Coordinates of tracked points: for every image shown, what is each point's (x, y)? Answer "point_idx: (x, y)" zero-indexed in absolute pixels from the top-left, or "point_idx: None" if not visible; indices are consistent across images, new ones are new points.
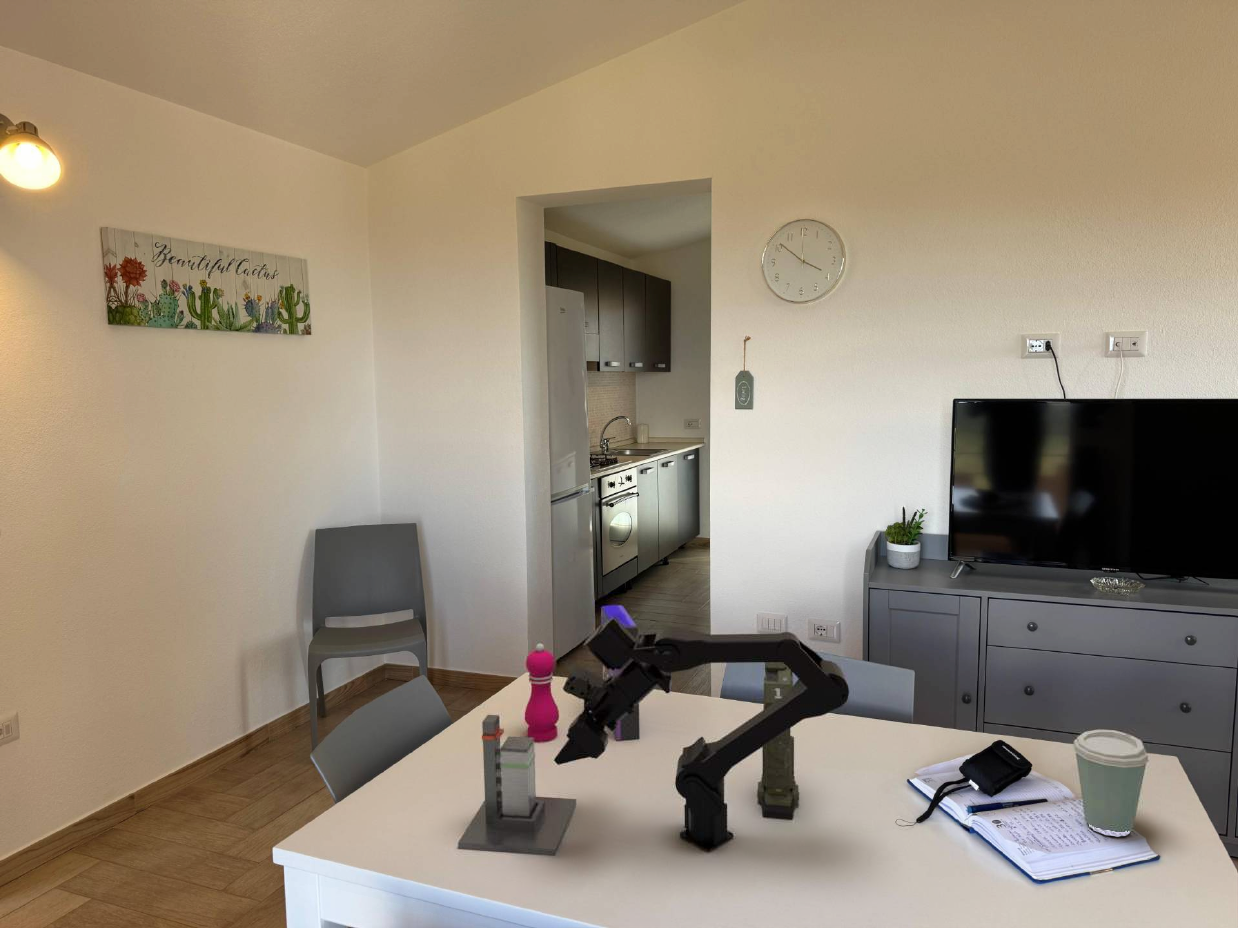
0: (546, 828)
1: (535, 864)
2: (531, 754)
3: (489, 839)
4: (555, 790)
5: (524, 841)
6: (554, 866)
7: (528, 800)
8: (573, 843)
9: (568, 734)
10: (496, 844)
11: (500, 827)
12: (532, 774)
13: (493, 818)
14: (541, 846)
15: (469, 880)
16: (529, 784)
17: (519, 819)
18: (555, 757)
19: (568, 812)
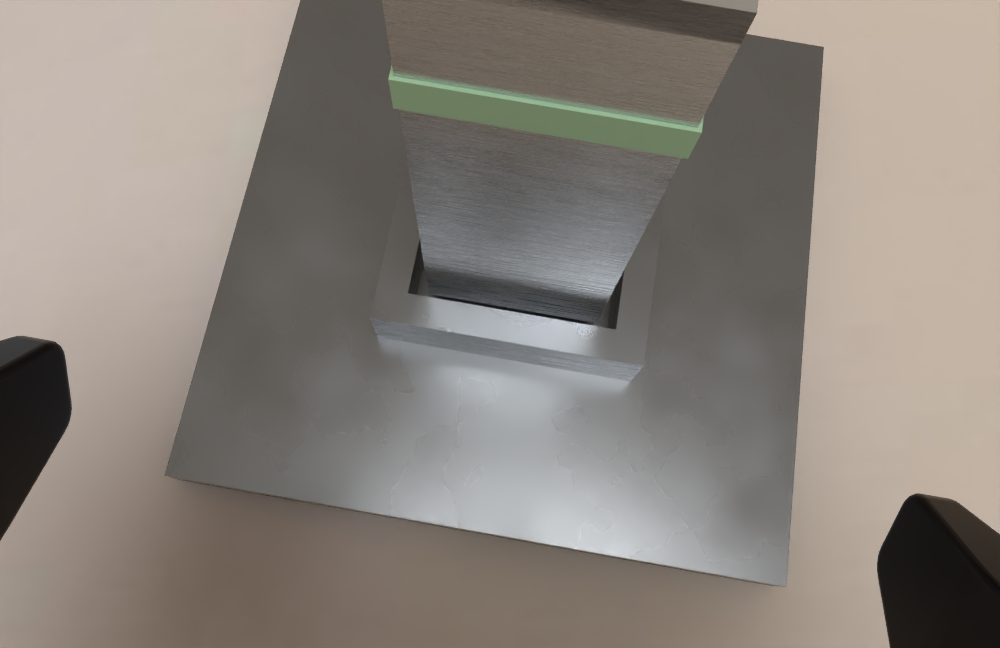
0: (412, 405)
1: (106, 371)
2: (570, 85)
3: (321, 102)
4: (943, 435)
5: (281, 287)
6: (66, 480)
7: (420, 236)
8: (298, 585)
9: (923, 526)
10: (265, 142)
11: None
12: (560, 198)
13: None
14: (214, 389)
15: (24, 66)
16: (452, 197)
17: (406, 225)
18: (8, 349)
19: (604, 539)
